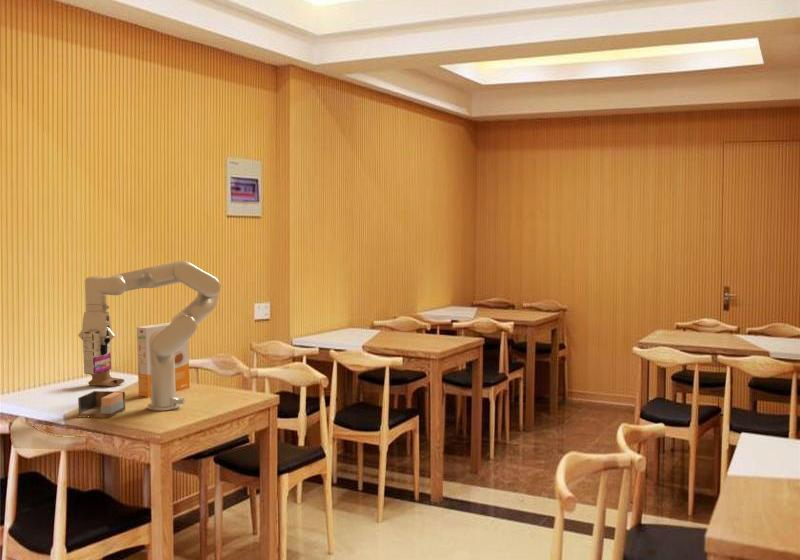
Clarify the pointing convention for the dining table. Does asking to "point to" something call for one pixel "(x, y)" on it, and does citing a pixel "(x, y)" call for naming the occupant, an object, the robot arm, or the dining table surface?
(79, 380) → the dining table surface
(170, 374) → the robot arm
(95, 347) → the candy bar box
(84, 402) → the book rack
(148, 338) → the cereal box
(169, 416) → the dining table surface
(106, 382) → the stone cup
